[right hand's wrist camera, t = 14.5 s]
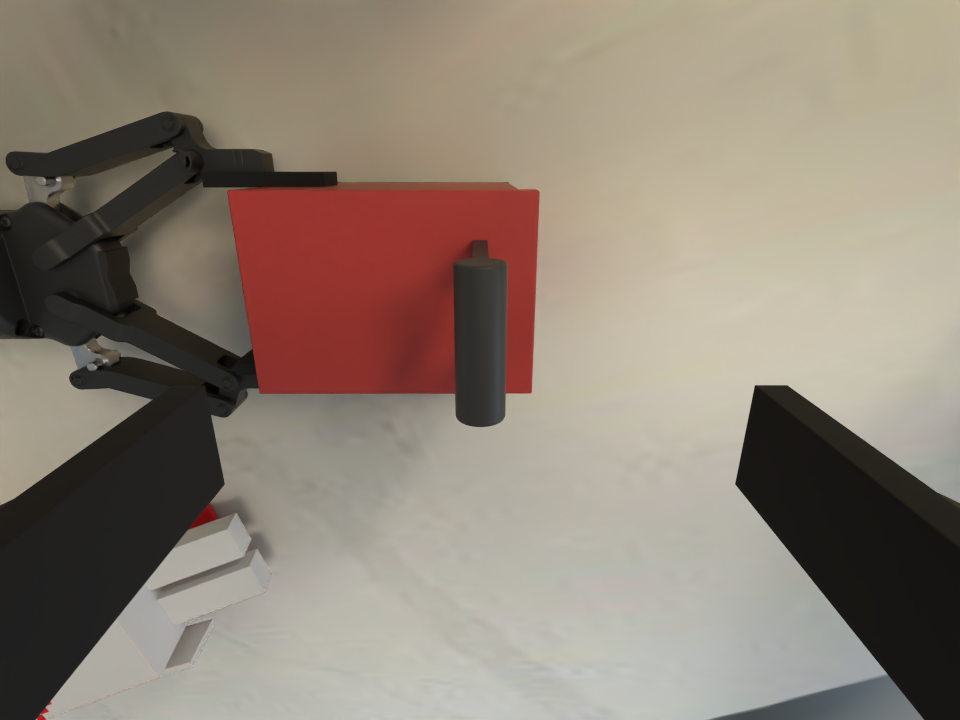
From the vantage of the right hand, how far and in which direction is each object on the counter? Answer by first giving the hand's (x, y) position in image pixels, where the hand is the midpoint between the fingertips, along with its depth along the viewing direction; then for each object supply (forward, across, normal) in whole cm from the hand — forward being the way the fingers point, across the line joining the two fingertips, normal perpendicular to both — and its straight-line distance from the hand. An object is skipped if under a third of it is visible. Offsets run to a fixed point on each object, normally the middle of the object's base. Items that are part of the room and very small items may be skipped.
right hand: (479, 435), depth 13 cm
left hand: (+20, -8, 0) cm, 21 cm away
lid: (+15, -4, 0) cm, 16 cm away
